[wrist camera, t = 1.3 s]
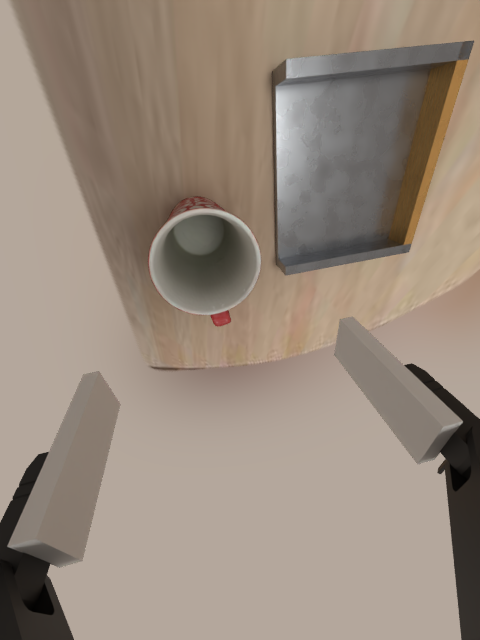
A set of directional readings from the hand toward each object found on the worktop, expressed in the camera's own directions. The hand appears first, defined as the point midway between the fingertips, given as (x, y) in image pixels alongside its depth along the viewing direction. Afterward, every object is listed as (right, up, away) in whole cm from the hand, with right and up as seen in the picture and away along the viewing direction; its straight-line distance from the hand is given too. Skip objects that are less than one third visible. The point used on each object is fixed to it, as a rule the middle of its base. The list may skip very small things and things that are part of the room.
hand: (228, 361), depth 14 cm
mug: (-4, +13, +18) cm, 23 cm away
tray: (+14, +20, +17) cm, 30 cm away
